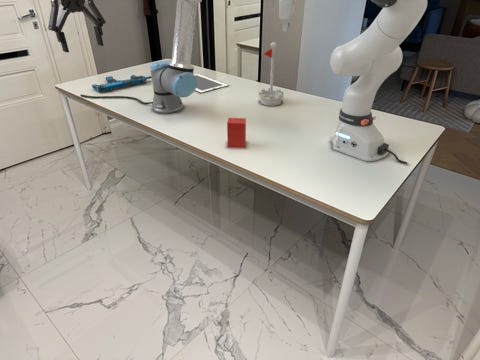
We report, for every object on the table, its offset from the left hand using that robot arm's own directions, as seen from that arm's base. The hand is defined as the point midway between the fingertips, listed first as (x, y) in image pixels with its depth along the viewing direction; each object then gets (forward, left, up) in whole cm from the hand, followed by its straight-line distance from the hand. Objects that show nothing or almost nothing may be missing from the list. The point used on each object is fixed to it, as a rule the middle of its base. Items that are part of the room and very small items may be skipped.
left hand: (84, 48), depth 124 cm
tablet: (-36, +74, -36) cm, 91 cm away
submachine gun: (-67, +38, -36) cm, 85 cm away
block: (+41, +38, -36) cm, 67 cm away
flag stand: (+16, +84, -36) cm, 93 cm away
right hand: (+35, +70, +3) cm, 79 cm away
